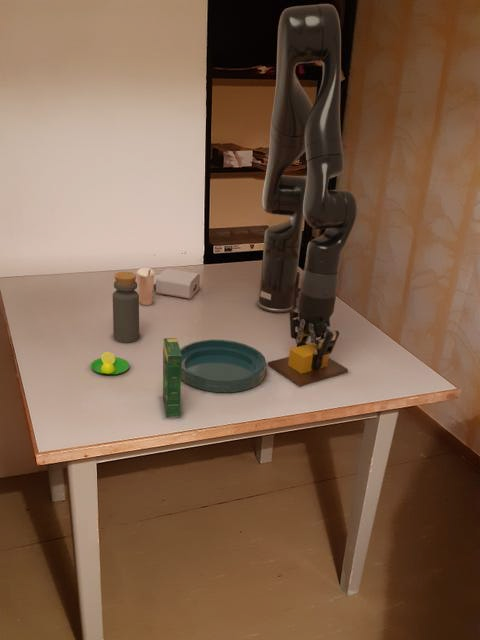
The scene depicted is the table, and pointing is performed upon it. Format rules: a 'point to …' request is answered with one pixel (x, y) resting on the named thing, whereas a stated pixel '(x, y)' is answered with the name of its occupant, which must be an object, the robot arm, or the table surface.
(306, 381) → the board
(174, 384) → the coffee box
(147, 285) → the milkshake
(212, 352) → the teal plate
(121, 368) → the lemons on green plate
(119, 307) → the bottle
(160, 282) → the charger
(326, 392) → the table surface
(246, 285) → the table surface
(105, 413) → the table surface
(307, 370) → the block
